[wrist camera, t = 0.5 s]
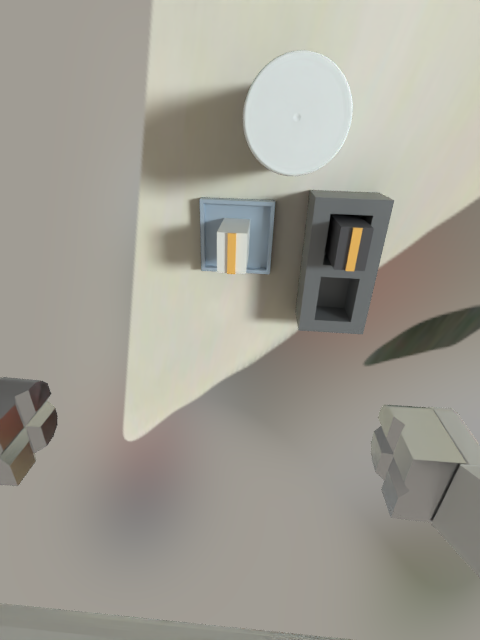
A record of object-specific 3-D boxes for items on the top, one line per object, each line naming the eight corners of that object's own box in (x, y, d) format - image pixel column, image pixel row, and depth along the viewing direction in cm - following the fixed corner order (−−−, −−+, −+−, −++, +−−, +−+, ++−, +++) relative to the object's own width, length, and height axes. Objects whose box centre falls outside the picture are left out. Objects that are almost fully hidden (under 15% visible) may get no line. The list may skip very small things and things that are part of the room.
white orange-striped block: (224, 217, 47) (216, 232, 40) (250, 219, 47) (247, 234, 40) (224, 253, 50) (216, 273, 42) (248, 254, 49) (245, 274, 42)
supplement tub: (345, 113, 41) (382, 103, 28) (294, 182, 45) (305, 201, 32) (282, 55, 39) (290, 15, 26) (234, 133, 43) (220, 132, 30)
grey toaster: (309, 190, 45) (320, 202, 37) (379, 192, 45) (405, 206, 36) (295, 311, 54) (300, 344, 45) (353, 314, 53) (370, 349, 45)
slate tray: (201, 197, 47) (199, 199, 45) (275, 200, 46) (275, 202, 45) (203, 267, 51) (201, 270, 50) (269, 270, 51) (269, 274, 50)
